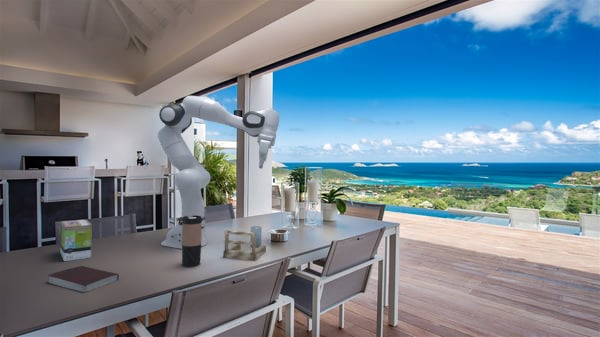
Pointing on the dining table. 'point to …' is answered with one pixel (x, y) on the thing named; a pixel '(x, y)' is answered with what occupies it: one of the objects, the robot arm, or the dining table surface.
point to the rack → (234, 249)
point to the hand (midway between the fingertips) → (260, 166)
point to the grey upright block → (258, 234)
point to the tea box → (75, 240)
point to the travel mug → (191, 241)
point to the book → (82, 278)
